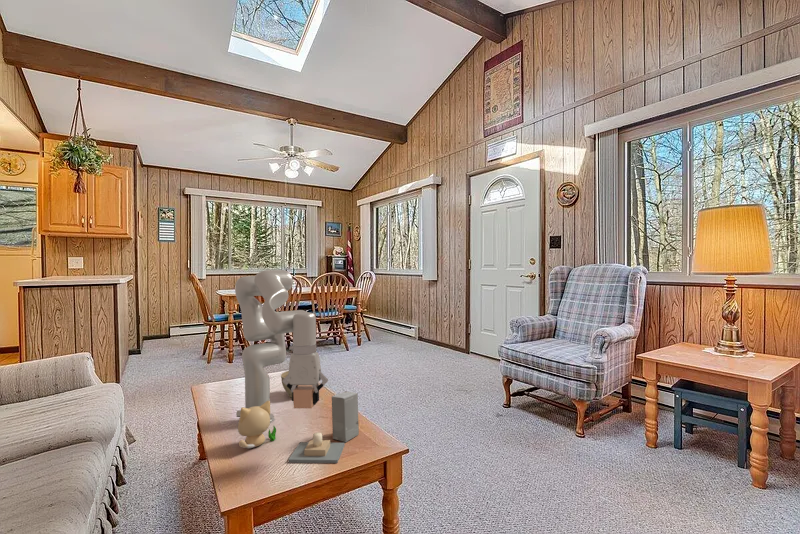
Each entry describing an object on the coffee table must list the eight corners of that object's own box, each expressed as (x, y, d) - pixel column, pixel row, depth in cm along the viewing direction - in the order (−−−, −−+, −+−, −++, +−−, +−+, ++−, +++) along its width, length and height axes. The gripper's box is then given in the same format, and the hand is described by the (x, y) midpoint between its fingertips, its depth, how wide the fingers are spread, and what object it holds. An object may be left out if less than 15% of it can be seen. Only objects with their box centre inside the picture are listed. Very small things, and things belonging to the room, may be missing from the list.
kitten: (270, 433, 144) (269, 394, 144) (282, 442, 137) (281, 401, 137) (229, 446, 134) (229, 404, 134) (240, 457, 127) (239, 412, 127)
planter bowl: (279, 392, 191) (278, 371, 191) (311, 388, 198) (311, 367, 198) (283, 403, 176) (283, 379, 176) (318, 397, 183) (317, 375, 183)
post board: (288, 462, 123) (288, 442, 123) (300, 444, 135) (299, 426, 135) (337, 463, 122) (337, 443, 122) (344, 445, 134) (344, 427, 134)
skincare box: (345, 443, 136) (345, 399, 136) (330, 438, 139) (330, 396, 139) (360, 434, 143) (359, 392, 143) (345, 430, 147) (345, 389, 147)
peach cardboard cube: (293, 408, 124) (293, 390, 124) (300, 401, 130) (299, 384, 130) (311, 408, 124) (311, 390, 124) (317, 402, 130) (316, 384, 130)
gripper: (275, 352, 124) (276, 406, 124) (326, 352, 123) (327, 407, 123) (284, 347, 132) (285, 399, 132) (332, 347, 130) (333, 399, 130)
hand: (305, 402), depth 127 cm, fingers closed on peach cardboard cube, 6 cm apart
